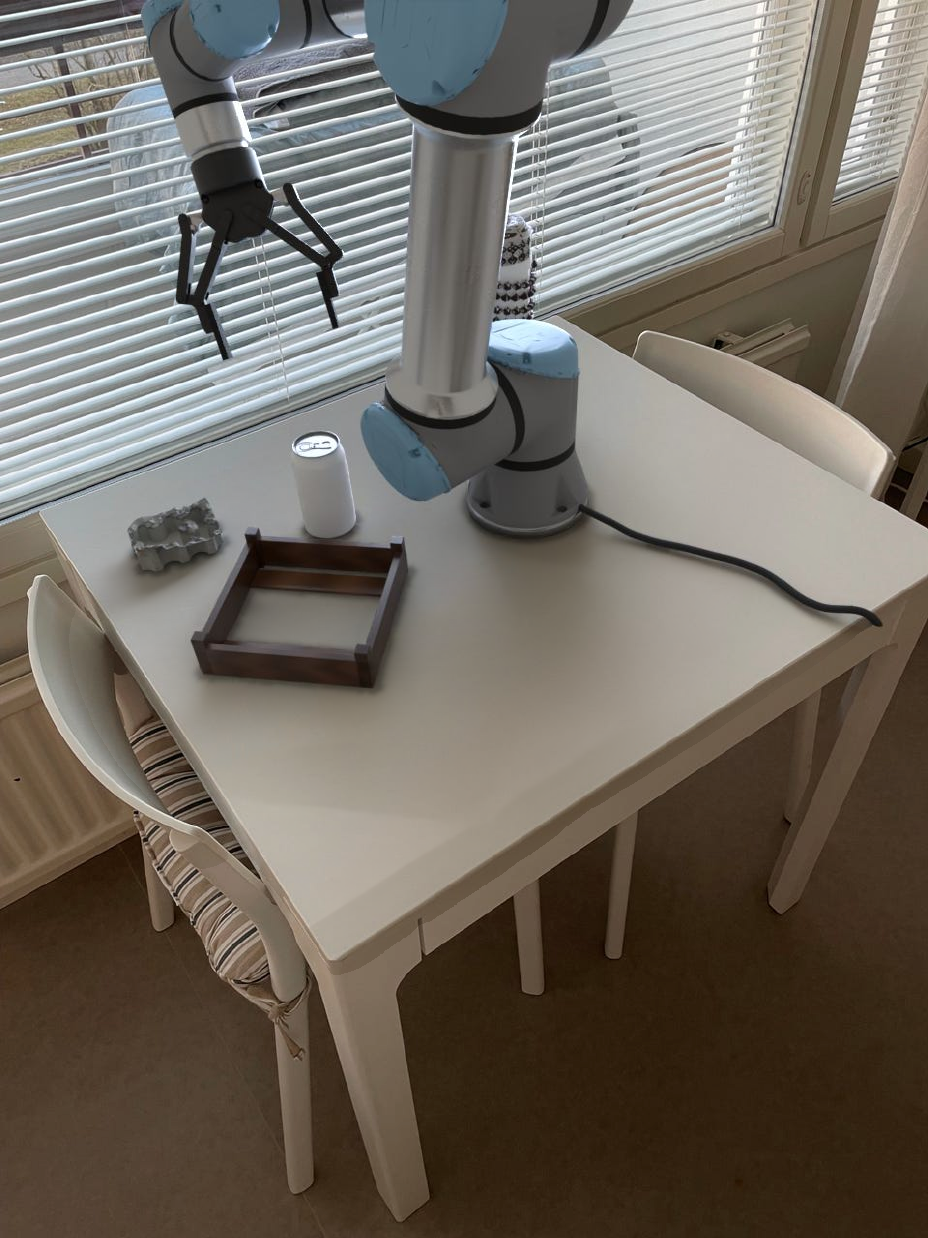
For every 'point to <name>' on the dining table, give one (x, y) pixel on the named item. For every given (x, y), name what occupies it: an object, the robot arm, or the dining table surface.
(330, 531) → the can
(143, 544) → the egg carton
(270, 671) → the crate
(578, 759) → the dining table surface
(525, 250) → the white patterned cylinder
